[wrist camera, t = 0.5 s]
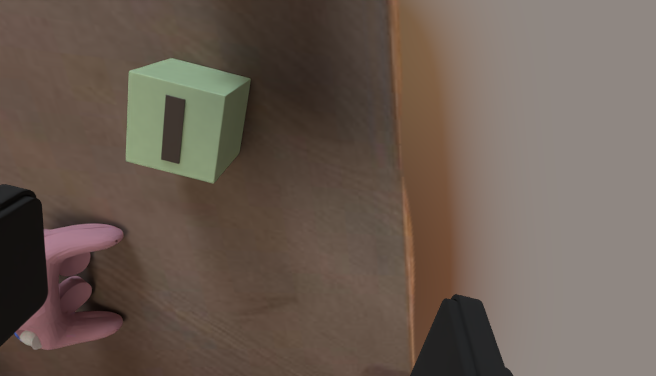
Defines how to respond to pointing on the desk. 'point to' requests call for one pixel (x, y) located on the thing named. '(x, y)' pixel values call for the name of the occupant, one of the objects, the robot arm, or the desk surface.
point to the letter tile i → (185, 118)
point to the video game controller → (70, 290)
